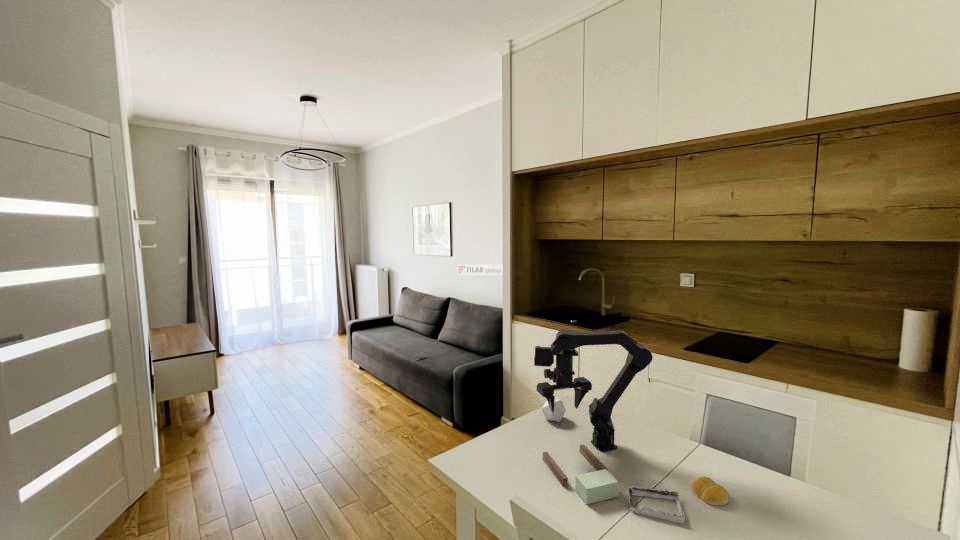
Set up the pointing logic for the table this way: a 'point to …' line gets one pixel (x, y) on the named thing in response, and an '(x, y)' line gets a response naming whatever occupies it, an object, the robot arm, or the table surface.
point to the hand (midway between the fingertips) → (564, 409)
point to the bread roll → (710, 491)
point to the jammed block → (596, 486)
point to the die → (558, 411)
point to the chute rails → (560, 474)
